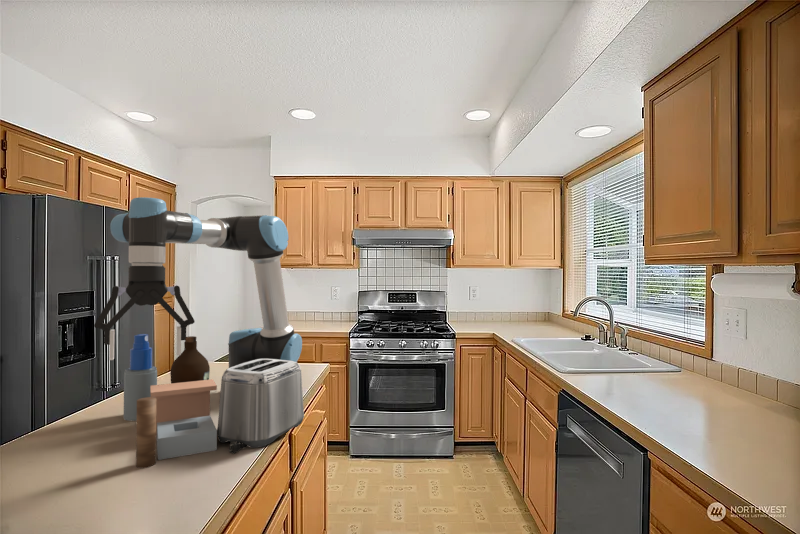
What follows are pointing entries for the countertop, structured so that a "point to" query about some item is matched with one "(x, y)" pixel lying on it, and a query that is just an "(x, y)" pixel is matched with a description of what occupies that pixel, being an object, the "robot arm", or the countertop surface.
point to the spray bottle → (138, 376)
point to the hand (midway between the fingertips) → (146, 356)
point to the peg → (146, 432)
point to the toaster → (259, 402)
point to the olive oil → (190, 364)
